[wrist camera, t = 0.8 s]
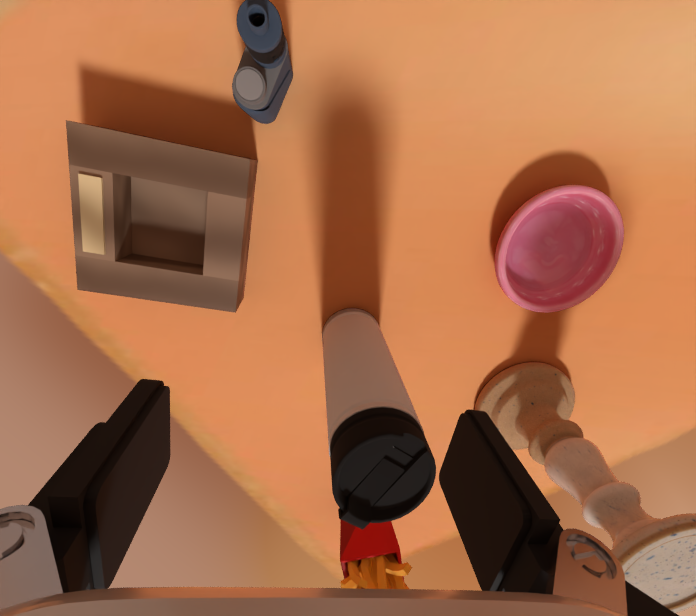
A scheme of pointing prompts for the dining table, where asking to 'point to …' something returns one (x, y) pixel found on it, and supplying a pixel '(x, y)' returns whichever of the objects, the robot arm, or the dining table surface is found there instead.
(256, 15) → the vaping device
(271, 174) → the dining table surface
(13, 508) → the robot arm
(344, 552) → the french fries
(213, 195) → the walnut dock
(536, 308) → the saucer
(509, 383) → the candle holder
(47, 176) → the dining table surface
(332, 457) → the travel mug
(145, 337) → the dining table surface
